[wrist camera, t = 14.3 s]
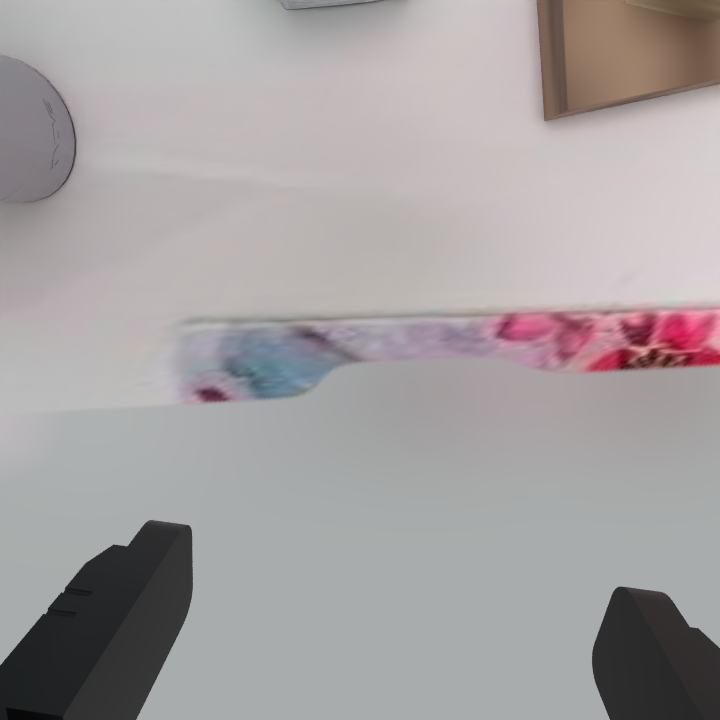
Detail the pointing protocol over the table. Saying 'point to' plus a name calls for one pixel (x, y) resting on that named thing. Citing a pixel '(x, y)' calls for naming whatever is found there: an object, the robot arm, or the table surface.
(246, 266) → the table surface
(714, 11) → the oak post
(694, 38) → the walnut block
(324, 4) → the skincare box
